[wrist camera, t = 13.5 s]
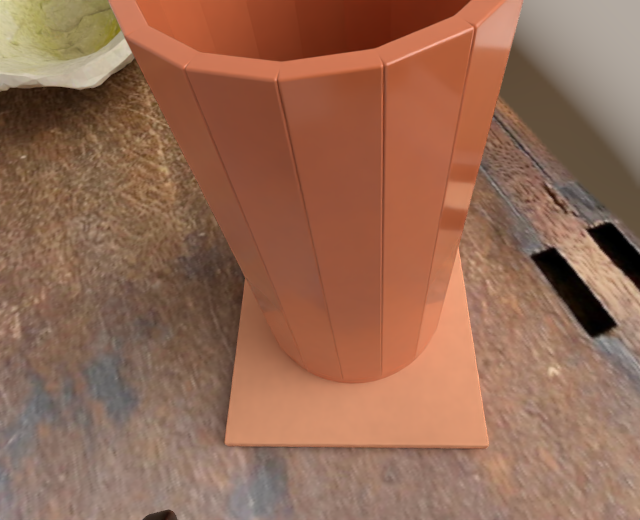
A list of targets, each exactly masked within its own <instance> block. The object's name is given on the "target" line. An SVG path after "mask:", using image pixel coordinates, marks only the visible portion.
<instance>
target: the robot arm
mask: <svg viewBox="0 0 640 520" xmlns="http://www.w3.org/2000/svg"><path fill="white" fill-rule="evenodd" d="M143 520H177V517H176V515H175V513H174V512H173V511H171V510H164V511H161V512H157V513H153V514H149V515H147V516H146V517H145V518H144V519H143Z"/></svg>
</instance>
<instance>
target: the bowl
mask: <svg viewBox="0 0 640 520" xmlns="http://www.w3.org/2000/svg"><path fill="white" fill-rule="evenodd" d="M134 58H135V57H134V55H133V53H132V51H131V49H130V47H129V45H128V44H127V42H126V40H125V38H124V35H123V33H122V31H121V29H120V27H119V24H118V22H117V20H116V18H115V16H114V14H113V11H112V9H111V7H110V5H109V3H108V1H107V0H0V91H3V90H8V89H9V88H10V87H11V88H15V87H17V88H33V87H51V86H55V87H67V88H73V89H78V90H82V89H86V88H95V87H97V86H99V85H101V84H102V83H103V82H104V81H105V80H106V79H107V78H108V77H109V76H110V75H111V74H114V73H116V72H118V71H119V70H121V69H122V68H124V67H125V66H126V65H127V64H130V63H131V62H132V61H133V59H134Z"/></svg>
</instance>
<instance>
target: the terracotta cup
mask: <svg viewBox="0 0 640 520" xmlns="http://www.w3.org/2000/svg"><path fill="white" fill-rule="evenodd" d="M107 1H108V3H109V5H110V7H111V9H112V11H113V14H114V16H115V18H116V20H117V22H118V24H119V27H120V29H121V31H122V33H123V35H124V38H125V40H126V42H127V44H128V45H129V47H130V49H131V51H132V53H133V55H134V57H135V59H136V61H137V63H138V65H139V67H140V69H141V71H142V73H143V75H144V77H145V79H146V81H147V83H148V85H149V87H150V89H151V91H152V93H153V95H154V97H155V99H156V101H157V103H158V105H159V107H160V109H161V111H162V113H163V115H164V117H165V119H166V121H167V123H168V125H169V127H170V129H171V131H172V133H173V135H174V137H175V139H176V141H177V143H178V145H179V147H180V149H181V151H182V153H183V155H184V157H185V159H186V161H187V163H188V165H189V167H190V169H191V171H192V173H193V175H194V177H195V179H196V181H197V183H198V185H199V187H200V189H201V191H202V193H203V195H204V197H205V199H206V201H207V203H208V205H209V207H210V209H211V211H212V213H213V215H214V217H215V219H216V221H217V223H218V225H219V227H220V229H221V231H222V233H223V235H224V237H225V239H226V241H227V243H228V245H229V247H230V249H231V251H232V253H233V255H234V257H235V259H236V261H237V263H238V265H239V267H240V269H241V271H242V273H243V275H244V277H245V279H246V281H247V283H248V284H249V286H250V288H251V290H252V292H253V294H254V296H255V298H256V300H257V302H258V304H259V306H260V308H261V310H262V312H263V314H264V316H265V318H266V320H267V322H268V324H269V326H270V328H271V330H272V332H273V334H274V336H275V338H276V340H277V342H278V344H279V346H280V347H281V348H282V349H283V350H284V352H285V353H286V354H287V355H288V356H289V357H290V358H291V359H292V360H293V361H294V362H295V363H296V364H297V365H299V366H300V367H301V368H303V369H304V370H306V371H308V372H310V373H312V374H313V375H315V376H318V377H321V378H323V379H326V380H330V381H335V382H341V383H365V382H371V381H376V380H379V379H383V378H386V377H388V376H391V375H393V374H395V373H397V372H399V371H400V370H402V369H404V368H405V367H407V366H408V365H409V364H411V363H412V362H413V361H414V360H415V359H417V358H418V356H419V355H420V354H421V353H422V352H423V351H424V350H425V348H426V347H427V345H428V344H429V342H430V341H431V339H432V337H433V334H434V333H435V332H436V329H437V326H438V322H439V319H440V315H441V311H442V307H443V303H444V300H445V296H446V292H447V288H448V285H449V281H450V277H451V273H452V269H453V266H454V262H455V258H456V254H457V250H458V247H459V243H460V239H461V235H462V231H463V228H464V224H465V220H466V216H467V213H468V209H469V205H470V201H471V197H472V194H473V190H474V186H475V182H476V178H477V175H478V171H479V167H480V163H481V159H482V156H483V152H484V148H485V144H486V141H487V137H488V133H489V129H490V125H491V122H492V118H493V114H494V110H495V106H496V103H497V99H498V95H499V91H500V87H501V84H502V80H503V76H504V72H505V68H506V65H507V61H508V57H509V53H510V49H511V46H512V42H513V38H514V34H515V31H516V27H517V23H518V19H519V15H520V12H521V8H522V4H523V0H107Z"/></svg>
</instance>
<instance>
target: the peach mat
mask: <svg viewBox="0 0 640 520" xmlns="http://www.w3.org/2000/svg"><path fill="white" fill-rule="evenodd" d="M224 443H225V444H226V445H227V446H271V447H373V448H475V449H485V448H487V447H488V446H489V442H488V435H487V429H486V422H485V416H484V409H483V403H482V396H481V390H480V383H479V377H478V370H477V364H476V357H475V351H474V344H473V338H472V331H471V325H470V318H469V312H468V305H467V299H466V292H465V286H464V279H463V273H462V266H461V260H460V253H459V247H458V250H457V254H456V258H455V262H454V266H453V269H452V273H451V277H450V281H449V285H448V288H447V292H446V296H445V300H444V303H443V307H442V311H441V315H440V319H439V322H438V326H437V329H436V332H435V333H434V334H433V337H432V339H431V341H430V342H429V344H428V345H427V347H426V348H425V350H424V351H423V352H422V353H421V354H420V355H419V356H418V358H417V359H415V360H414V361H413V362H412V363H411V364H409V365H408V366H407V367H405V368H404V369H402V370H400V371H399V372H397V373H395V374H393V375H391V376H388V377H386V378H383V379H379V380H376V381H371V382H365V383H341V382H335V381H330V380H326V379H323V378H321V377H318V376H315V375H313V374H312V373H310V372H308V371H306V370H304V369H303V368H301V367H300V366H299V365H297V364H296V363H295V362H294V361H293V360H292V359H291V358H290V357H289V356H288V355H287V354H286V353H285V352H284V350H283V349H282V348H281V347H280V346H279V344H278V342H277V340H276V338H275V336H274V334H273V332H272V330H271V328H270V326H269V324H268V322H267V320H266V318H265V316H264V314H263V312H262V310H261V308H260V306H259V304H258V302H257V300H256V298H255V296H254V294H253V292H252V290H251V288H250V286H249V284H248V283H247V281H246V279H245V284H244V292H243V300H242V308H241V315H240V323H239V331H238V339H237V347H236V354H235V362H234V370H233V378H232V386H231V393H230V401H229V409H228V417H227V425H226V432H225V440H224Z"/></svg>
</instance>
